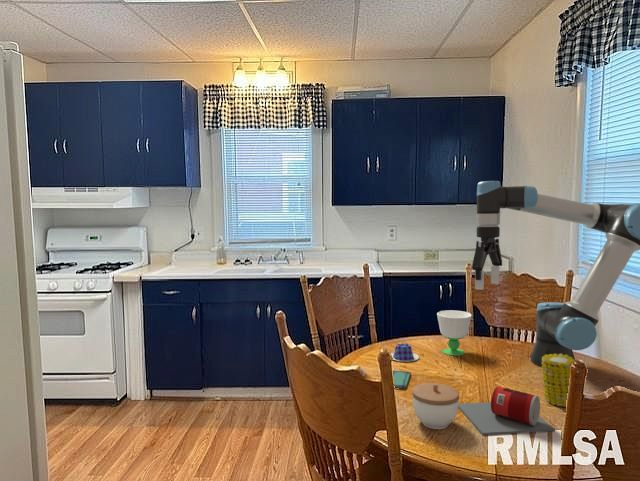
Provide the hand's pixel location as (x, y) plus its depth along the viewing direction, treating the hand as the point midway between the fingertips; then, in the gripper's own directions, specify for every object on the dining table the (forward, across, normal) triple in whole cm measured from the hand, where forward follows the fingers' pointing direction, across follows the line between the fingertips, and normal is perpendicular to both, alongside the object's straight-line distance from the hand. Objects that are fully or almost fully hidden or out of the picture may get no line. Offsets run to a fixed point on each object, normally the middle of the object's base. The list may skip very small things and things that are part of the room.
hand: (487, 286), depth 163 cm
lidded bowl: (+32, +45, +4) cm, 55 cm away
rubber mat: (+31, +30, +17) cm, 46 cm away
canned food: (+27, +30, +15) cm, 43 cm away
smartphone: (+32, +25, -21) cm, 46 cm away
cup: (+32, -16, -20) cm, 41 cm away
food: (+32, +8, +26) cm, 42 cm away
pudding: (+32, +3, -32) cm, 46 cm away
